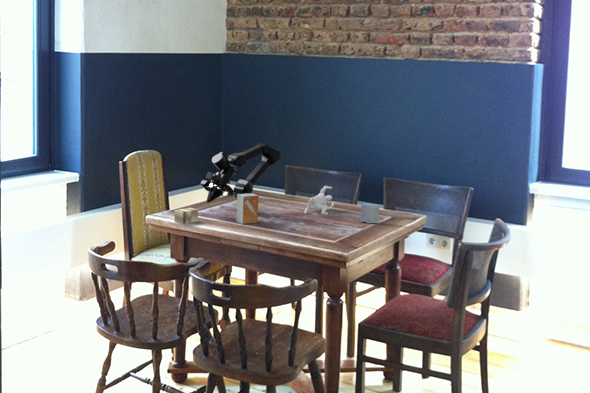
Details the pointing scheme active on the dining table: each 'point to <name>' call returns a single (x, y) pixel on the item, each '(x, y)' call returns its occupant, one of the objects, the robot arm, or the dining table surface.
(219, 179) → the robot arm
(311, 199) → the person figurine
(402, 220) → the dining table surface
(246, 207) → the small box
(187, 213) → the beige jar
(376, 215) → the medicine box
